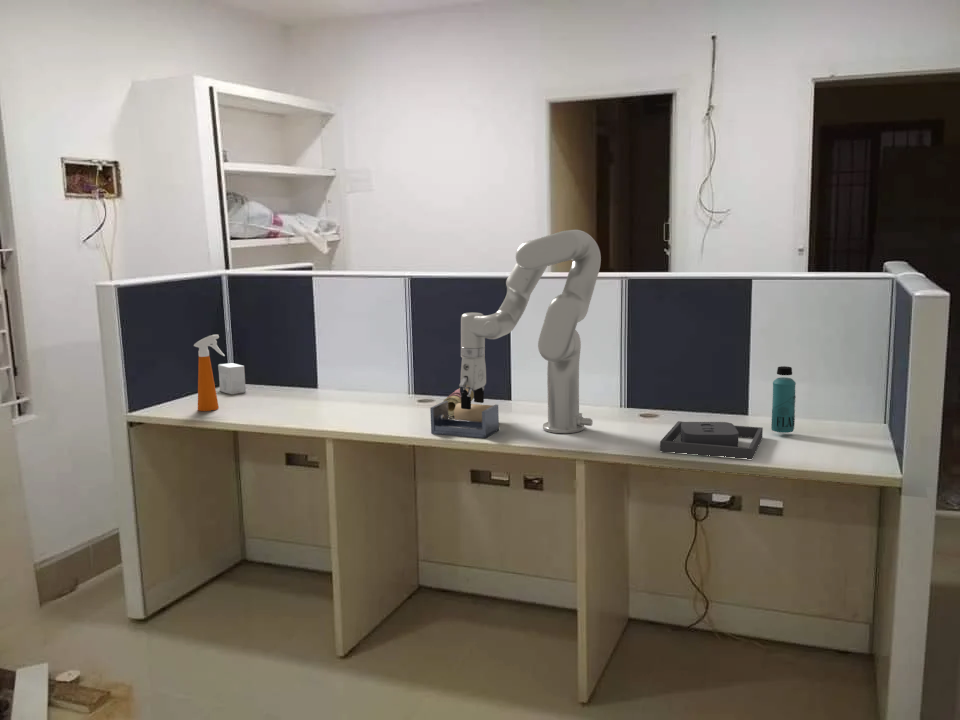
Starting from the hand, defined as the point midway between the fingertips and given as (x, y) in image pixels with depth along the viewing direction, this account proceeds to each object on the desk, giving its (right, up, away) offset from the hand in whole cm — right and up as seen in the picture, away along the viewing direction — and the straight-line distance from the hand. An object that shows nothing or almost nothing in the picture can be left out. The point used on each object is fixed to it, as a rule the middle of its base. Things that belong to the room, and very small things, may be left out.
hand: (472, 405), depth 273 cm
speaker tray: (+67, -9, -32) cm, 75 cm away
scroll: (-4, -3, +17) cm, 18 cm away
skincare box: (-93, +2, +60) cm, 110 cm away
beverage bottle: (+90, -7, -24) cm, 93 cm away
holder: (-2, -7, -11) cm, 13 cm away
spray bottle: (-91, -3, +30) cm, 96 cm away
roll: (+1, -6, +1) cm, 6 cm away
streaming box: (+66, -10, -32) cm, 74 cm away
